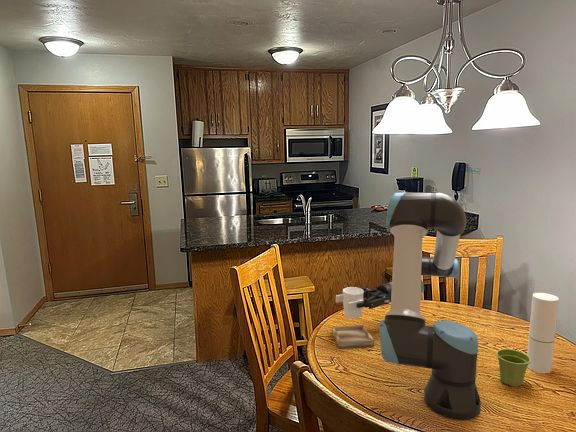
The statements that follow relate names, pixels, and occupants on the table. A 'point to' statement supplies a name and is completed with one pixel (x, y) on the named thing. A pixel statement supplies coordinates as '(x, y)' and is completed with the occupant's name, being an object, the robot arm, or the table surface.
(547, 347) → the cylindrical container
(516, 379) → the plant pot
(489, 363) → the table surface
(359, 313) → the white cup
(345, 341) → the birch tray
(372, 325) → the table surface
